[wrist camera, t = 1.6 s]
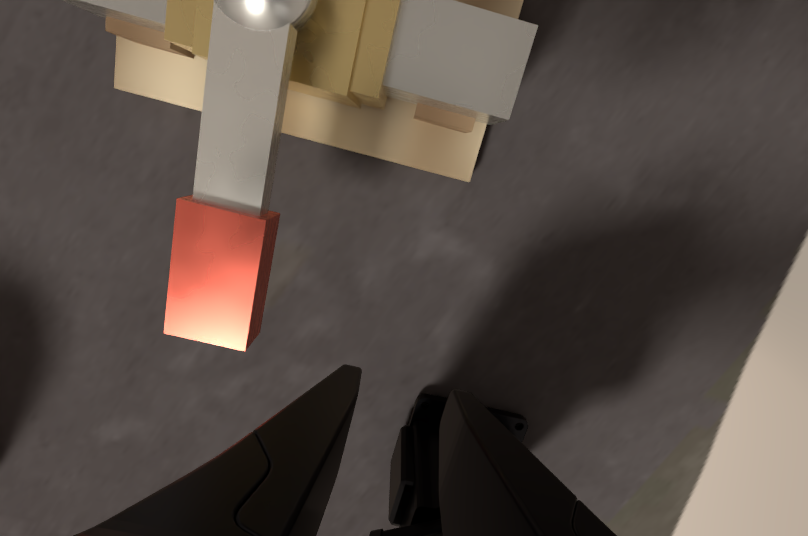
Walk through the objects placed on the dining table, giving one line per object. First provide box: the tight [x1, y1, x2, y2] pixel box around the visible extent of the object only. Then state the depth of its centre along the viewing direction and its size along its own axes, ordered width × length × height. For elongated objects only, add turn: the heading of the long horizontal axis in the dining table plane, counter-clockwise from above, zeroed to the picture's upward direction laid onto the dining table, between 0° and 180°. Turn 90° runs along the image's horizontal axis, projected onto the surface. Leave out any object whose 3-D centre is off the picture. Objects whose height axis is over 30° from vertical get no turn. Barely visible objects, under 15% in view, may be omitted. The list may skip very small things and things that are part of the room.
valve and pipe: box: [62, 0, 538, 125], centre depth 14 cm, size 16×4×5 cm, turn 76°
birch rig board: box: [105, 0, 524, 182], centre depth 16 cm, size 16×8×3 cm, turn 76°
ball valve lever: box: [164, 0, 318, 351], centre depth 12 cm, size 12×3×1 cm, turn 166°
